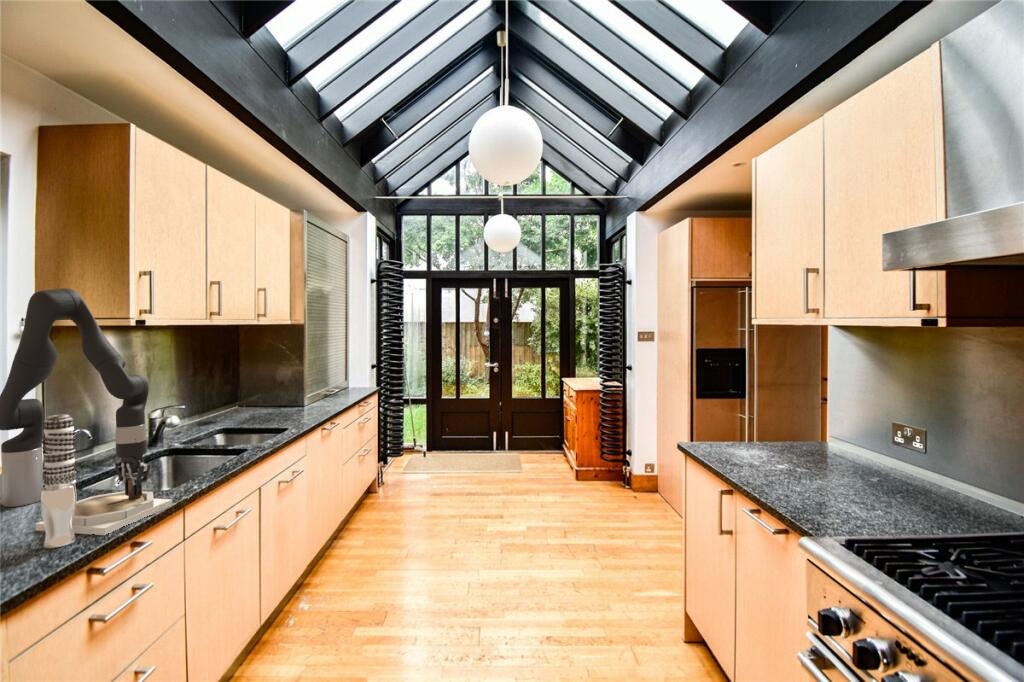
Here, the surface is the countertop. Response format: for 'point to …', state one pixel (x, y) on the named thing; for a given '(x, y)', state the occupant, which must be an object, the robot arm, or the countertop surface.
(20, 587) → the countertop surface
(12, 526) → the countertop surface
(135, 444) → the robot arm
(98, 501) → the dial
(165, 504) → the dial housing
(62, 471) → the decorative candle
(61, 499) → the beer glass
